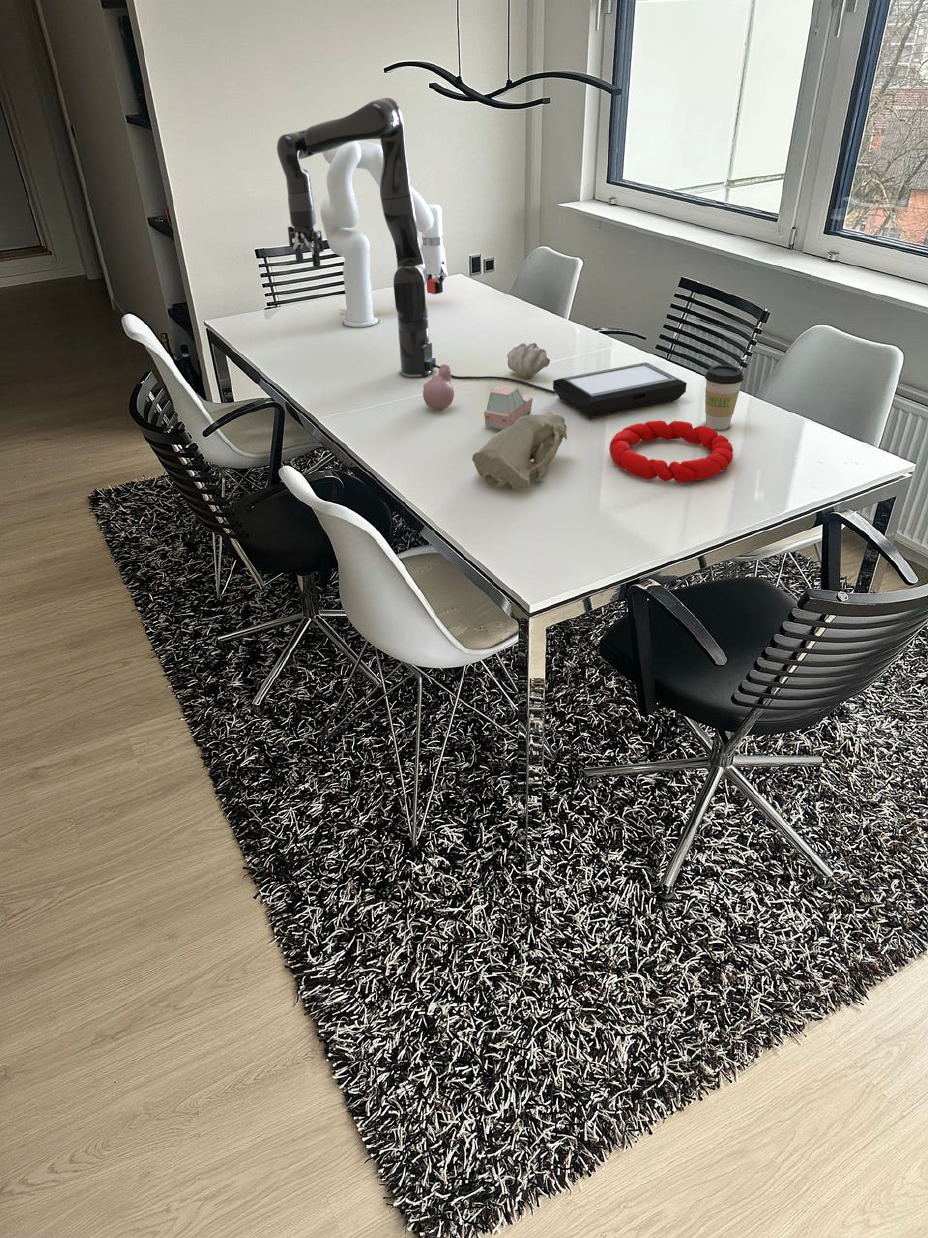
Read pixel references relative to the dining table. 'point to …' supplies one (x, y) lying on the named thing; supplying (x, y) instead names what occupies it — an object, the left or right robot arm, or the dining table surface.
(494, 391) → the toy car
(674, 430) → the decorative ring
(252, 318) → the dining table surface
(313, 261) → the right robot arm
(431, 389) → the figurine
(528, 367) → the seashell
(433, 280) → the block
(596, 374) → the electronic device
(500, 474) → the animal skull
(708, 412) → the coffee cup
